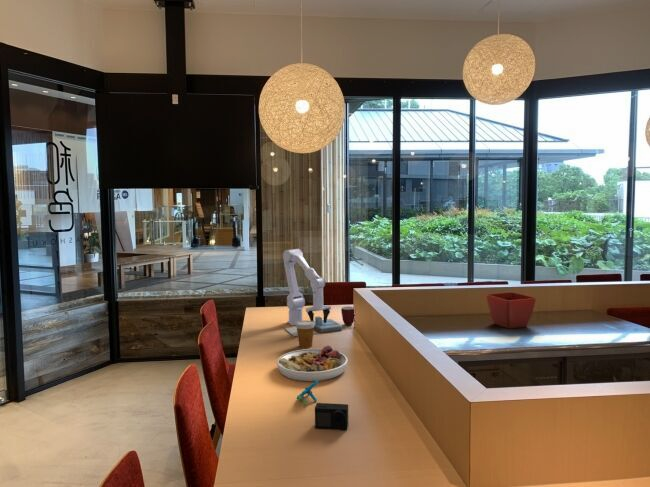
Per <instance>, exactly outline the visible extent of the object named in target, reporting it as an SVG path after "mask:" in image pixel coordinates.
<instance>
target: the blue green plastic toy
mask: <svg viewBox="0 0 650 487" xmlns="http://www.w3.org/2000/svg"><path fill="white" fill-rule="evenodd" d="M319 382H320V381H313V382H311V385H308V386H307V387H305V388H304V390H303V391H302V392H301V393H300V394H298V395H297V396H296V399H297V401H300V402H303V403H304V405H305V406H306V407H307V406H309V404H308V403H307V402H306V400H305V399H306V398H308V397H309V396H310V397H311V399H312V400H313V401H314V402H316V403H317V401H318V399H317V398H316V396H314V394H313V392H312V390H313V388H315V387H316V386H317V385H318V383H319Z"/></svg>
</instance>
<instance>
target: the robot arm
mask: <svg viewBox="0 0 650 487" xmlns="http://www.w3.org/2000/svg"><path fill="white" fill-rule="evenodd" d="M282 259H283V263H284V264H283V266H284V271H285V275H286V280H287V285H288V286H287V287H288V291H289V294H288V295H287V296H286V306H287V309H288V320H287V322H286V323H288V324H289V325H290V326H292V327H293V326H294V327H296V323H297V322H298V321H304V320H303V309H304V307H305V305H306V301H305V298H304V295H303V293H302V292H300V291H299V290H300V289H299V286H298V279H297V276H296V271H295V265H296V264H298V265H299V266H300V268H302V269H303V270H304V275H305V277H306V278H307V279H308V281H309V282H310V287H311V290H312V304H313V305H312V307H306V308H305V312H306V313H307V315H308V318H309V321H313V322H314V321H315V313H314V312H319V311H322V313H323V320H324V323H326V321H327V319H328V317H329V314H330V313H331V310H332V306H331V305H324V288H325V286H326V280H325V279H324V277H321V276H319V274H318V273H317V272H316V271H315V268H314V267H310V266H309V264H308V262H307V261H306V258H304V253H303V251H302V250H301V249H300V248H294V249H286V250H284V251H283V254H282Z"/></svg>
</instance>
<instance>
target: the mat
mask: <svg viewBox="0 0 650 487" xmlns="http://www.w3.org/2000/svg"><path fill="white" fill-rule="evenodd" d="M284 330H285V331H286V332H288V333H289V335H291V336H292V335H293V337H294V338H295V336H297V337H298V333H297V328H296V326H294V327H293V326H292V327H286V328H284ZM317 334H318V333H317V332H316V331H315V330H314V331H313V335H317Z"/></svg>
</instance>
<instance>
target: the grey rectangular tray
mask: <svg viewBox="0 0 650 487" xmlns="http://www.w3.org/2000/svg"><path fill="white" fill-rule="evenodd" d="M342 327H343V326H342ZM342 327H336V328H328V329H320V328H319V327H317V326H316V325H315V326H314V329H315V330H317V331H318V332H320V333H321V334H325V333H332V332H333V333H335V332H340V331H342V330H343V328H342Z"/></svg>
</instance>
